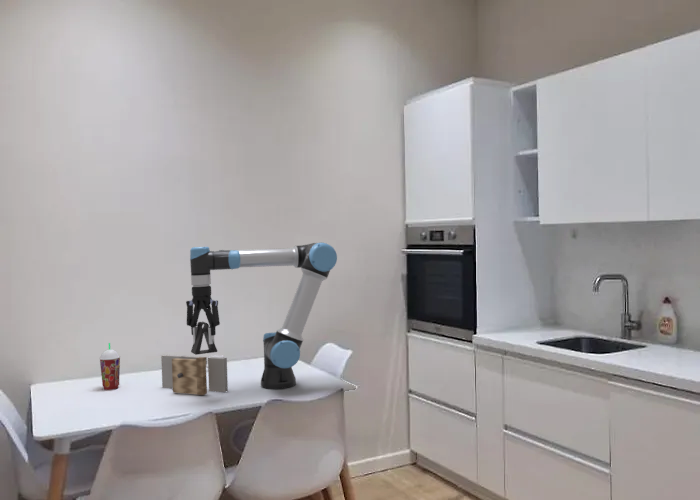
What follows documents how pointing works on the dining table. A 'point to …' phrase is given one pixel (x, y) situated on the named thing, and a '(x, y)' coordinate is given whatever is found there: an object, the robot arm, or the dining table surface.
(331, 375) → the dining table surface
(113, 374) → the smoothie
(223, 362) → the wall
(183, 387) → the door
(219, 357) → the cup
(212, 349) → the phone stand
